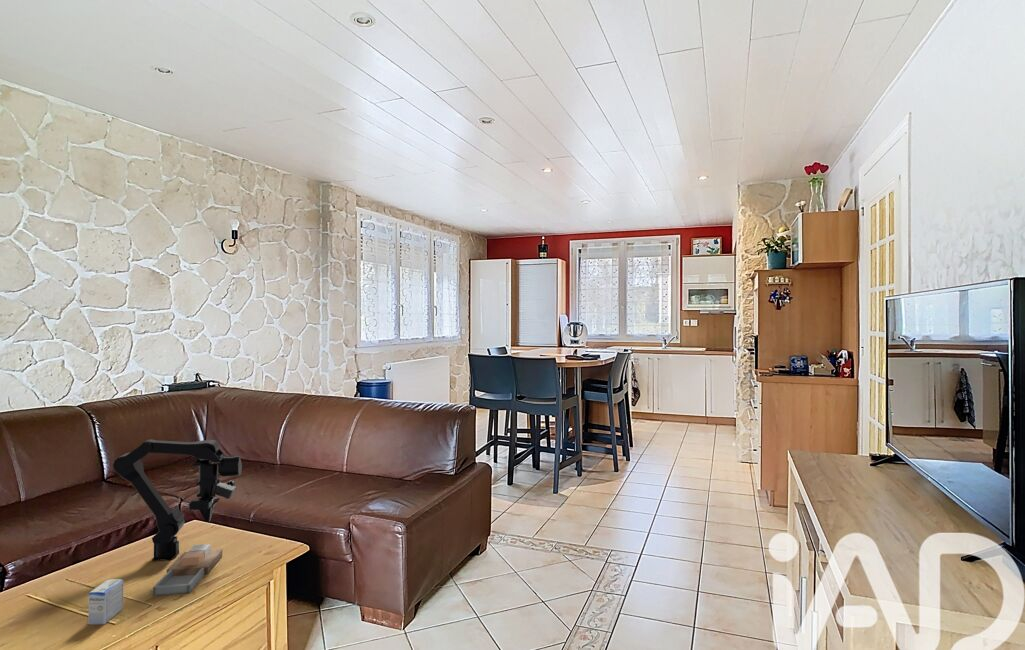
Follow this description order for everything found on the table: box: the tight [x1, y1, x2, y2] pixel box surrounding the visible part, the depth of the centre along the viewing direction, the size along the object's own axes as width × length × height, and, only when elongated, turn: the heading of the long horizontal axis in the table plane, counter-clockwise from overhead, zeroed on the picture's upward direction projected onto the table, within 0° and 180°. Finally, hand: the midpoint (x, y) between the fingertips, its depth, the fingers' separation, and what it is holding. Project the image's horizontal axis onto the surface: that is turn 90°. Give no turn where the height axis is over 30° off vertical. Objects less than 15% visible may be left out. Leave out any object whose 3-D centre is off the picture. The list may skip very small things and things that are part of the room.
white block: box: [188, 543, 211, 558], centre depth 187 cm, size 5×5×2 cm
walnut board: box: [166, 549, 223, 576], centre depth 184 cm, size 12×14×2 cm
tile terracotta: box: [182, 551, 204, 566], centre depth 182 cm, size 5×5×2 cm
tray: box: [152, 568, 205, 596], centre depth 171 cm, size 10×12×2 cm
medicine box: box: [87, 578, 124, 626], centre depth 152 cm, size 8×4×9 cm, turn 5°
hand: (207, 521), depth 195 cm, fingers closed
